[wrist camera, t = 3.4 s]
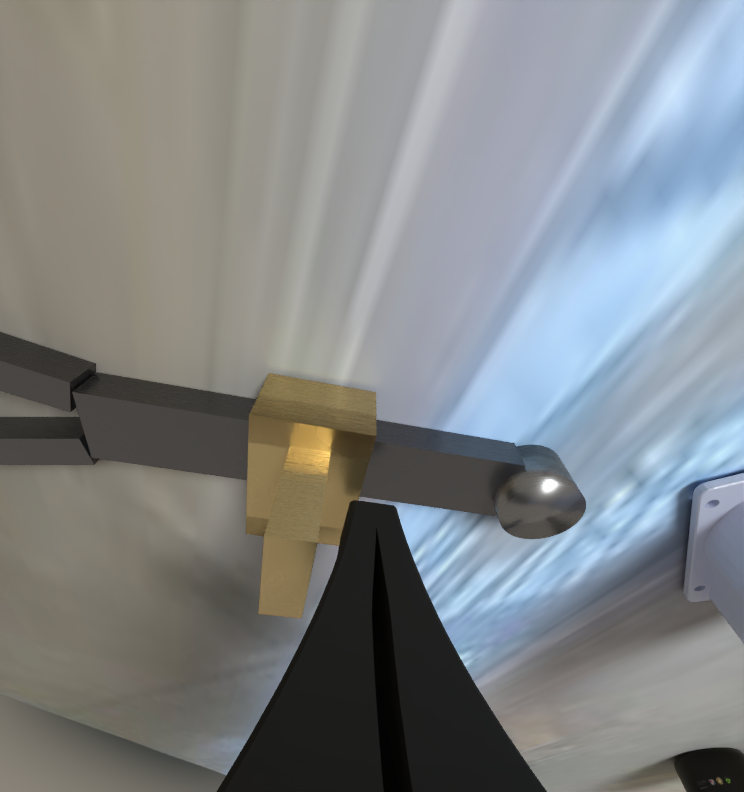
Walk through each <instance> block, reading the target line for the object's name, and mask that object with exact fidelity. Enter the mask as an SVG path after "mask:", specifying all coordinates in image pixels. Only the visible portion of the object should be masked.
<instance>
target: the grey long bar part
mask: <svg viewBox="0 0 744 792" xmlns="http://www.w3.org/2000/svg"><path fill="white" fill-rule="evenodd" d="M0 391H2V392H6V393H9V394H12V395H16V396H19V397H22V398H26V399H29V400H32V401H36V402H39V403H43V404H46V405H49V406H53V407H56V408H59V409H63V410H66V411H69V412H71V411H72V410H73V409H75V408H76V407H77V410H78V413H79V417H0V465H94V464H95V463H96V462H97V461H98V460H99V459H105V460H112V461H119V462H126V463H133V464H140V465H147V466H153V467H160V468H167V469H174V470H181V471H188V472H195V473H202V474H209V475H216V476H223V477H229V478H236V479H243V480H247V471H248V434H249V414H250V412H251V410H252V408H253V406H254V404H255V402H256V399H250V398H244V397H238V396H232V395H226V394H221V393H215V392H209V391H203V390H197V389H191V388H185V387H179V386H174V385H168V384H162V383H156V382H150V381H144V380H138V379H132V378H126V377H121V376H115V375H109V374H103V373H96V374H95V363H92V362H89V361H86V360H83V359H80V358H77V357H74V356H71V355H68V354H65V353H62V352H59V351H56V350H53V349H49V348H46V347H43V346H40V345H37V344H34V343H31V342H28V341H25V340H22V339H19V338H16V337H13V336H10V335H7V334H4V333H1V332H0ZM360 496H361V497H368V498H374V499H381V500H388V501H395V502H402V503H409V504H416V505H423V506H430V507H437V508H443V509H450V510H457V511H464V512H471V513H478V514H485V515H492V516H495V514H496V513H497V515H498V518H499V521H500V524H501V526H502V528H503V529H504V530H505V531H506V532H508V533H509V534H511V535H513V536H516V537H519V538H524V539H540V538H546V537H550V536H554V535H557V534H559V533H562V532H564V531H566V530H567V529H569V528H571V527H572V526H573V525H575V524H576V523H577V522H578V521H579V520H580V519H581V517H582V516H583V514H584V512H585V509H586V501H585V498H584V497H583V495H582V493H581V492H580V490H579V489H578V487H577V485H576V484H575V482H574V481H573V479H572V477H571V476H570V474H569V472H568V471H567V469H566V468H565V466H564V464H563V463H562V461H561V460H560V458H559V456H558V455H557V454H556V453H555V452H554V451H553V450H551V449H549V448H547V447H544V446H539V445H524V446H519V447H516V446H515V444H514V443H509V442H503V441H497V440H491V439H485V438H480V437H474V436H468V435H462V434H456V433H450V432H444V431H438V430H433V429H427V428H421V427H415V426H409V425H403V424H397V423H391V422H385V421H380V420H376V439H375V443H374V447H373V450H372V454H371V457H370V461H369V464H368V468H367V471H366V475H365V478H364V482H363V485H362V489H361V493H360Z"/></svg>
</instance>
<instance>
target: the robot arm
mask: <svg viewBox="0 0 744 792" xmlns="http://www.w3.org/2000/svg"><path fill="white" fill-rule="evenodd" d="M683 594H684V596H685V597H686V598H687V600H688V601H690V602H701V601H707V600H711V601H712V602H713V604H714V605H715V606H716V608H717V609H718V610H719V612H720V613H721V614H722V616H723V617H724V618H725V620H726V621H727V622H728V624H729V625H730V626H731V627H732V629H733V630H734V631H735V633H736V634H737V635H738V637H739V638H740V639H741V641H742V642H743V643H744V473H741V474H737V475H733V476H728V477H724V478H720V479H716V480H712V481H708V482H705V483H702V484H700V485H698V486H697V487H696V488H695V489H694V492H693V499H692V509H691V520H690V530H689V540H688V550H687V560H686V570H685V581H684V591H683ZM217 792H547V791H546V790H545V788H544V787H543V786H542V784H541V783H540V781H539V780H538V779H537V777H536V776H535V774H534V773H533V772H532V770H531V769H530V767H529V766H528V765H527V763H526V762H525V760H524V759H523V757H522V756H521V754H520V753H519V751H518V750H517V748H516V747H515V745H514V744H513V743H512V741H511V740H510V738H509V737H508V735H507V734H506V732H505V731H504V729H503V728H502V726H501V724H500V723H499V721H498V720H497V718H496V716H495V715H494V713H493V712H492V710H491V709H490V707H489V705H488V704H487V702H486V701H485V699H484V697H483V696H482V694H481V693H480V691H479V689H478V688H477V686H476V685H475V683H474V681H473V680H472V678H471V676H470V674H469V673H468V671H467V669H466V667H465V666H464V664H463V662H462V660H461V659H460V657H459V655H458V653H457V651H456V650H455V648H454V646H453V644H452V642H451V640H450V638H449V637H448V635H447V633H446V631H445V629H444V627H443V625H442V623H441V621H440V619H439V617H438V615H437V613H436V610H435V608H434V606H433V604H432V602H431V600H430V598H429V595H428V593H427V591H426V589H425V586H424V584H423V582H422V579H421V577H420V574H419V572H418V569H417V567H416V565H415V562H414V560H413V557H412V554H411V552H410V549H409V546H408V543H407V541H406V538H405V535H404V532H403V529H402V526H401V523H400V519H399V516H398V513H397V509H396V508H395V506H393V505H386V504H379V503H372V502H365V501H358V500H353V501H351V502H350V503H349V507H348V511H347V515H346V518H345V522H344V526H343V530H342V534H341V537H340V544H339V550H338V556H337V560H336V563H335V565H334V568H333V571H332V573H331V576H330V578H329V581H328V583H327V586H326V588H325V591H324V593H323V595H322V598H321V600H320V603H319V605H318V607H317V609H316V611H315V614H314V616H313V618H312V620H311V622H310V624H309V627H308V629H307V631H306V633H305V635H304V637H303V639H302V641H301V643H300V645H299V647H298V649H297V651H296V653H295V655H294V657H293V659H292V661H291V663H290V665H289V667H288V669H287V670H286V672H285V674H284V676H283V678H282V680H281V682H280V684H279V686H278V687H277V689H276V691H275V693H274V695H273V696H272V698H271V700H270V702H269V703H268V705H267V707H266V709H265V711H264V712H263V714H262V716H261V718H260V719H259V721H258V723H257V725H256V727H255V728H254V730H253V732H252V734H251V735H250V737H249V739H248V741H247V742H246V744H245V746H244V747H243V749H242V751H241V752H240V754H239V756H238V757H237V759H236V761H235V762H234V764H233V766H232V767H231V769H230V771H229V772H228V774H227V776H226V777H225V779H224V781H223V782H222V784H221V785H220V787H219V789H218V790H217Z"/></svg>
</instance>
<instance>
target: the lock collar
mask: <svg viewBox="0 0 744 792" xmlns="http://www.w3.org/2000/svg"><path fill="white" fill-rule="evenodd" d="M375 439H376V392H371V391H366V390H360V389H354V388H349V387H343V386H338V385H332V384H326V383H321V382H315V381H310V380H304V379H298V378H293V377H287V376H282V375H276V374H270V373H269V375H268V377H267V379H266V381H265V383H264V385H263V387H262V389H261V391H260V393H259V395H258V397H257V399H256V402H255V404H254V406H253V408H252V410H251V412H250V414H249V434H248V471H247V509H246V534H252V535H260V536H264V544H263V558H262V572H261V586H260V599H259V613H258V614H264V615H274V616H284V617H293V618H302V614H303V609H304V605H305V600H306V595H307V590H308V585H309V581H310V576H311V571H312V566H313V562H314V557H315V552H316V547H317V543H322V544H330V545H337V546H339V544H340V537H341V534H342V530H343V526H344V522H345V518H346V515H347V511H348V507H349V503H350V502H351V501H353V500H359V496H360V493H361V489H362V485H363V482H364V478H365V475H366V471H367V468H368V464H369V461H370V457H371V454H372V450H373V447H374V443H375Z"/></svg>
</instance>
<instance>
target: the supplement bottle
mask: <svg viewBox="0 0 744 792" xmlns="http://www.w3.org/2000/svg"><path fill="white" fill-rule="evenodd" d="M674 766H675V769H676V772H677V774H678V776H679V778H680V780H681V782H682V784H683V786H684V788H685V790H686V792H744V753H742V752H741V751H739V750H736V749H731V748H711V749H703V750H697V751H693V752H689V753H686V754H683V755H681V756H679V757H677V758H676V759H675V761H674Z"/></svg>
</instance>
